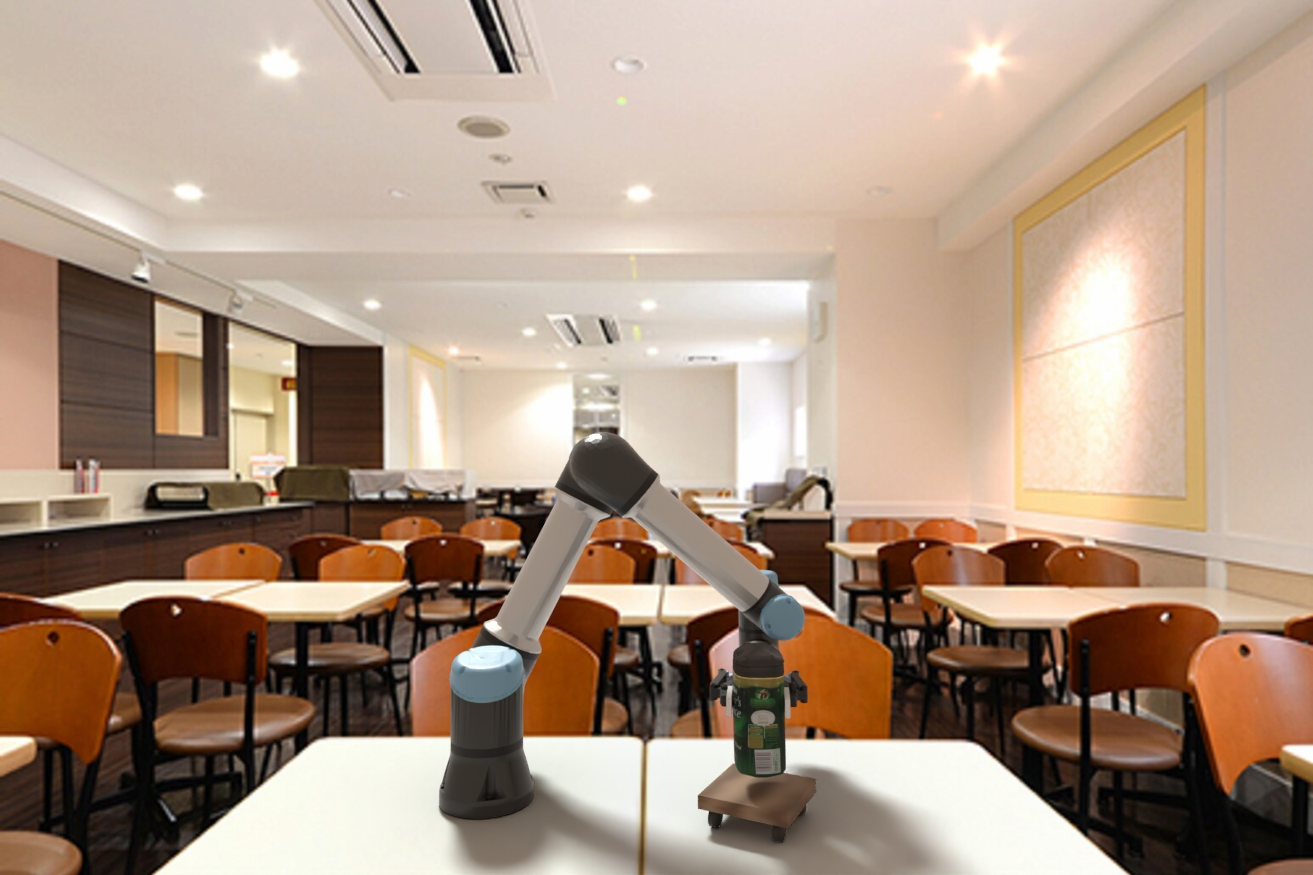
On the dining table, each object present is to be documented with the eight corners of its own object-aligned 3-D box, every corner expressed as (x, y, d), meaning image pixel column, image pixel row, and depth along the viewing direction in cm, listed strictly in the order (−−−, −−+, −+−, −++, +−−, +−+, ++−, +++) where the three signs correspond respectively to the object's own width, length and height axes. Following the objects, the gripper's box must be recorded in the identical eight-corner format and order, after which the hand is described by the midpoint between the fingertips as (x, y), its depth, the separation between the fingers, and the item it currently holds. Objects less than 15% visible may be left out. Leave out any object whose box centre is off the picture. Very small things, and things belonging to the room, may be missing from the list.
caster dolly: (697, 828, 118) (697, 794, 118) (733, 793, 131) (733, 763, 131) (788, 849, 112) (788, 813, 112) (816, 810, 124) (816, 778, 124)
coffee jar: (731, 755, 126) (730, 638, 127) (781, 755, 126) (779, 638, 127) (735, 780, 117) (734, 653, 117) (789, 780, 116) (787, 653, 117)
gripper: (819, 690, 138) (830, 736, 116) (700, 687, 141) (688, 731, 118) (818, 647, 138) (829, 684, 116) (699, 645, 141) (687, 680, 118)
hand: (758, 708), depth 117 cm, fingers closed on coffee jar, 8 cm apart
